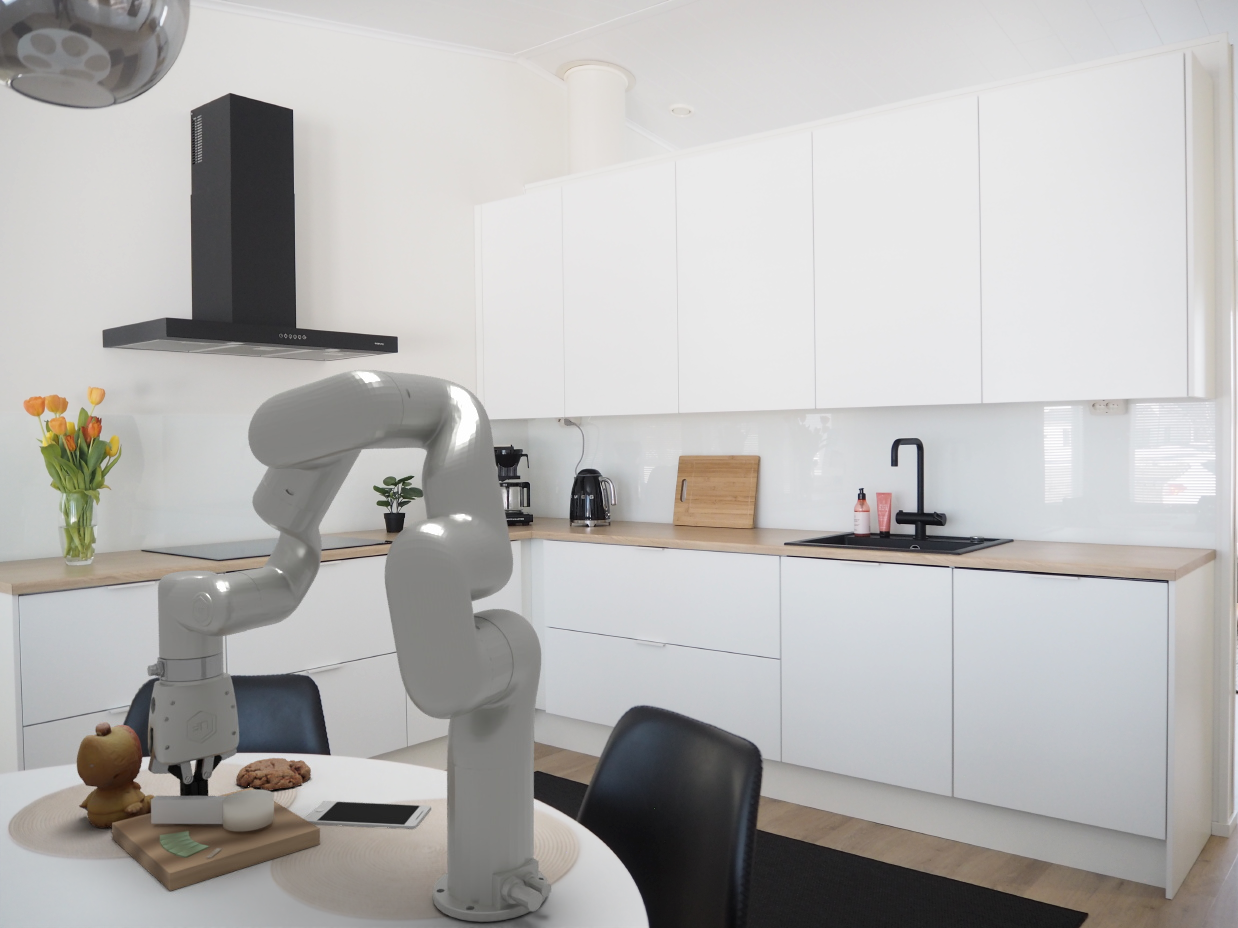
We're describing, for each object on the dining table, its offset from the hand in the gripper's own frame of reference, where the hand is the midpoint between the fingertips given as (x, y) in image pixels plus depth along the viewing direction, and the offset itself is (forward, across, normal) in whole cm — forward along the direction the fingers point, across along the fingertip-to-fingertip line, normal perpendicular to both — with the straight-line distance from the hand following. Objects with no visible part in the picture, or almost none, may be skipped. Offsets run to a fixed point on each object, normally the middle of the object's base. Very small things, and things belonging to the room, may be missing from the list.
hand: (194, 809), depth 124 cm
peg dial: (+1, +1, -4) cm, 4 cm away
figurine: (+3, -6, +11) cm, 13 cm away
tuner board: (+3, +1, -5) cm, 6 cm away
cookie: (+3, +16, +12) cm, 20 cm away
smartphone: (+4, +19, -10) cm, 22 cm away
